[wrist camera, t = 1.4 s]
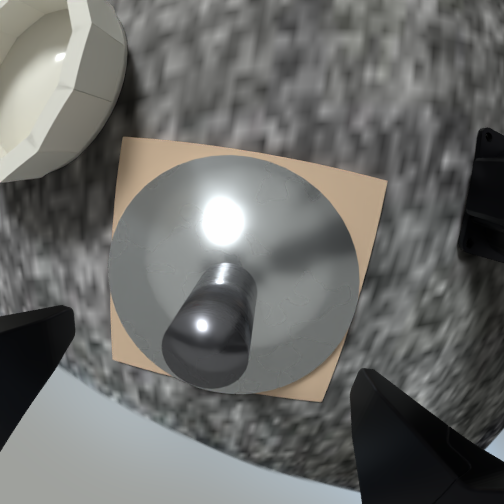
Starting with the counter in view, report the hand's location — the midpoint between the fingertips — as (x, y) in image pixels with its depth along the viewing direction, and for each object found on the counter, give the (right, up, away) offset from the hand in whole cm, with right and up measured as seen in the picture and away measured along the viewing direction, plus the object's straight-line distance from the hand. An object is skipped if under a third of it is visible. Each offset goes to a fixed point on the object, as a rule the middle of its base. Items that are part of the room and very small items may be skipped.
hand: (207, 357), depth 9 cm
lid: (0, +1, +6) cm, 6 cm away
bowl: (-10, +12, +4) cm, 16 cm away
